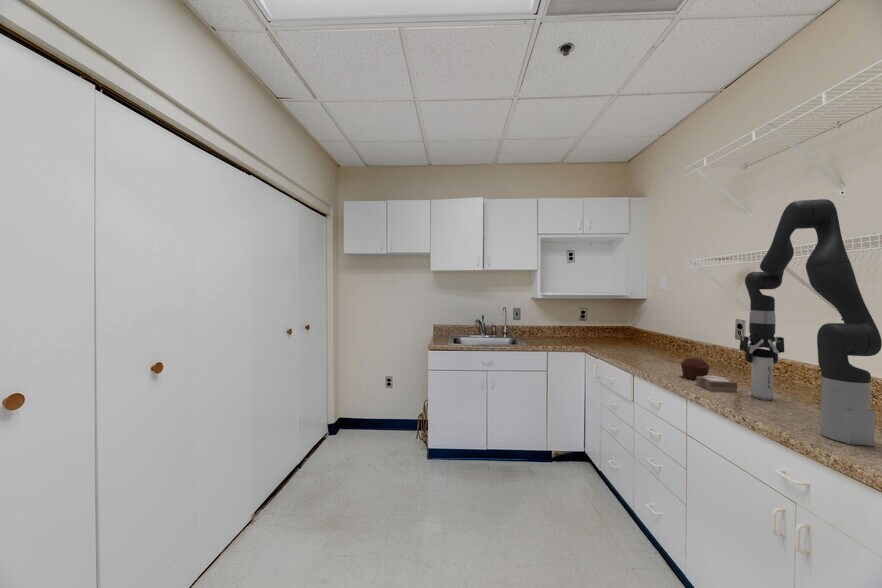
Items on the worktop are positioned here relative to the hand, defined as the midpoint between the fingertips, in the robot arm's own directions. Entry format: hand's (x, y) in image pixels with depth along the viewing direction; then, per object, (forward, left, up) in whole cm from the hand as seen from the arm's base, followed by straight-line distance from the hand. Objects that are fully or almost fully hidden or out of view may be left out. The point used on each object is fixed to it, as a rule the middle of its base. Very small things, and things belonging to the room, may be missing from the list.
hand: (761, 362), depth 134 cm
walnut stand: (+12, +9, -14) cm, 21 cm away
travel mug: (0, 0, -14) cm, 14 cm away
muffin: (+29, +8, -14) cm, 33 cm away
